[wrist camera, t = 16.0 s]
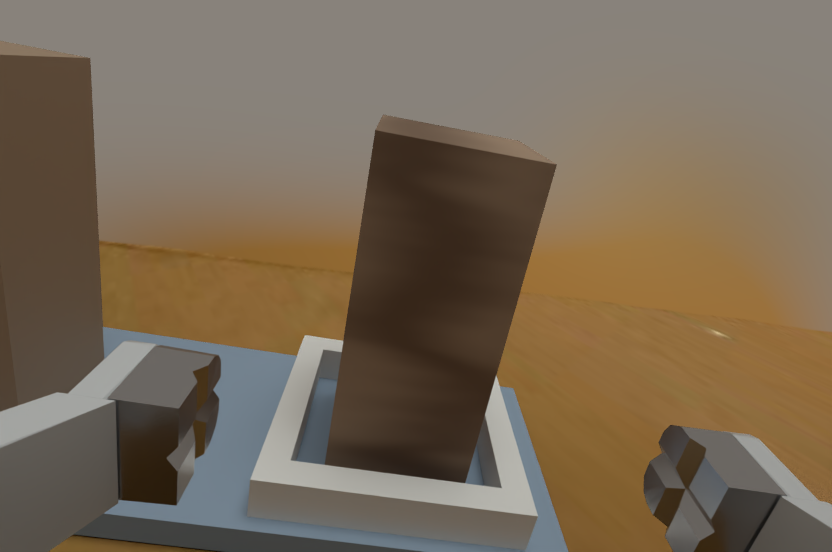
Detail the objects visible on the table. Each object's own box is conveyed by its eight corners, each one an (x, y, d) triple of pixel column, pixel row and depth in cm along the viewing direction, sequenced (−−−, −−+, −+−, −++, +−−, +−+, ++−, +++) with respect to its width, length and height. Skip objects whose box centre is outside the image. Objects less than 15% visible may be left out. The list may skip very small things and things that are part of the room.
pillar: (450, 409, 23) (518, 141, 19) (461, 496, 18) (556, 164, 14) (339, 393, 22) (383, 114, 18) (322, 478, 18) (375, 130, 13)
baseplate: (508, 404, 26) (586, 148, 21) (565, 591, 17) (726, 209, 12) (1, 330, 24) (-38, 27, 19) (-256, 496, 15) (-458, -13, 10)
